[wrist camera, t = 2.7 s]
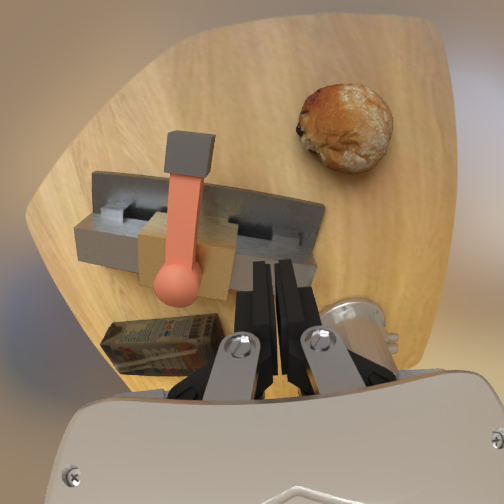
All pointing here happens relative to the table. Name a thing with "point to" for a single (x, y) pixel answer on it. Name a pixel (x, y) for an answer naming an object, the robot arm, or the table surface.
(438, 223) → the table surface
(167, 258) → the lever
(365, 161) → the bread roll
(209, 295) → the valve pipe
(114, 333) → the beverage carton
